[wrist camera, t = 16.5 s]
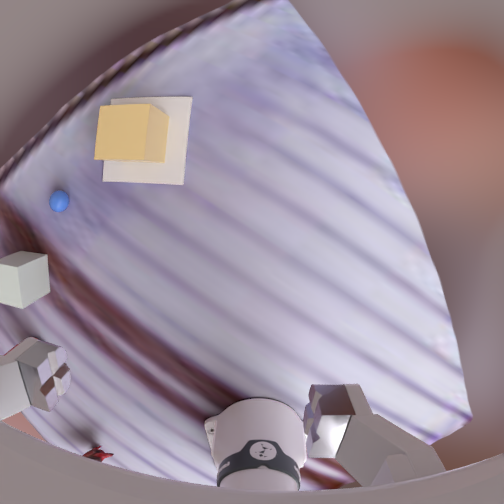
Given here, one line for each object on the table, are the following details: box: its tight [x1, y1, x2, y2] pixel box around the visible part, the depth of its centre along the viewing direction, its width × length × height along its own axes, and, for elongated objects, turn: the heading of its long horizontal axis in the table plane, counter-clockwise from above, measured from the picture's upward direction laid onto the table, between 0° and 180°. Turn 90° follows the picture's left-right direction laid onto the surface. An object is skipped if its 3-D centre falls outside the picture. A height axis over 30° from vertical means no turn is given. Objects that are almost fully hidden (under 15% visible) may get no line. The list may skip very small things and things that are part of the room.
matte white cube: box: [0, 251, 50, 309], centre depth 41 cm, size 6×6×8 cm
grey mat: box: [103, 97, 193, 185], centre depth 40 cm, size 12×12×1 cm
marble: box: [49, 190, 69, 212], centre depth 40 cm, size 3×3×3 cm
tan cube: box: [94, 104, 169, 163], centre depth 36 cm, size 6×6×8 cm
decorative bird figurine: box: [83, 446, 114, 462], centre depth 48 cm, size 3×18×10 cm, turn 129°
